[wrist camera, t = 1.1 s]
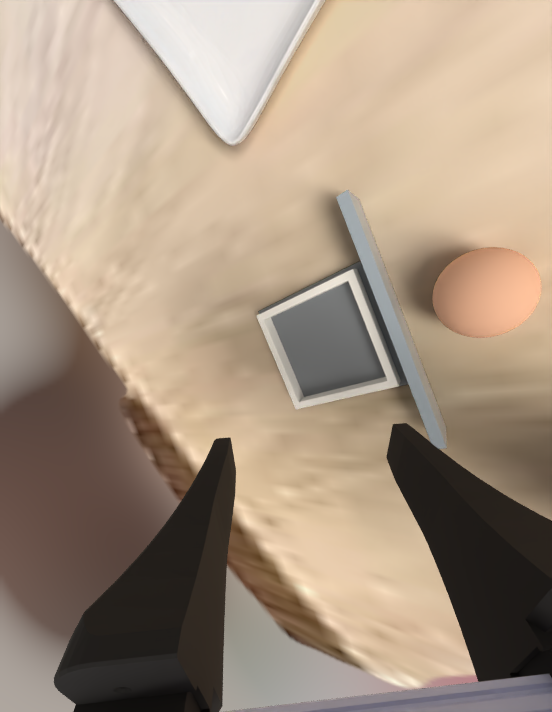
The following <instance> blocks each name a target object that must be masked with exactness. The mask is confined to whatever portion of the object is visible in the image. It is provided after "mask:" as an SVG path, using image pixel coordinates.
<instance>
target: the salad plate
mask: <svg viewBox="0 0 552 712" xmlns="http://www.w3.org/2000/svg"><path fill="white" fill-rule="evenodd" d="M113 1H114V2H115V3H116V4H117V5H118V7H119V8H120V9H121V10H122V12H123V13H124V14H125V15H126V16H127V18H128V19H129V20H130V21H131V23H132V24H133V25H134V26H135V27H136V29H137V30H138V31H139V33H140V34H141V35H142V36H143V38H144V39H145V40H146V41H147V43H148V44H149V45H150V46H151V48H152V49H153V50H154V51H155V53H156V54H157V55H158V56H159V58H160V59H161V60H162V62H163V63H164V64H165V66H166V67H167V68H168V70H169V71H170V72H171V74H172V75H173V77H174V78H175V79H176V81H177V82H178V83H179V85H180V86H181V87H182V89H183V90H184V91H185V93H186V94H187V95H188V97H189V98H190V100H191V101H192V102H193V104H194V105H195V106H196V108H197V109H198V110H199V112H200V113H201V114H202V116H203V117H204V119H205V120H206V122H207V123H208V124H209V126H210V127H211V128H212V129H213V131H214V132H215V133H216V134H217V135H218V136H219V137H220V139H222V140H223V141H224V142H225V143H226V144H228V145H231V146H233V145H237V144H239V143H241V142H242V141H243V140H244V139H245V138H246V137H247V136H248V134H249V133H250V132H251V130H252V129H253V127H254V125H255V124H256V122H257V120H258V118H259V117H260V115H261V113H262V111H263V109H264V107H265V106H266V104H267V102H268V100H269V98H270V96H271V95H272V93H273V91H274V89H275V87H276V85H277V84H278V82H279V80H280V78H281V76H282V75H283V73H284V71H285V69H286V67H287V66H288V64H289V62H290V60H291V59H292V57H293V55H294V53H295V51H296V50H297V48H298V46H299V45H300V43H301V41H302V39H303V38H304V36H305V34H306V33H307V31H308V29H309V27H310V26H311V24H312V22H313V21H314V19H315V17H316V16H317V14H318V12H319V10H320V9H321V7H322V5H323V4H324V2H325V0H113Z"/></svg>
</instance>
